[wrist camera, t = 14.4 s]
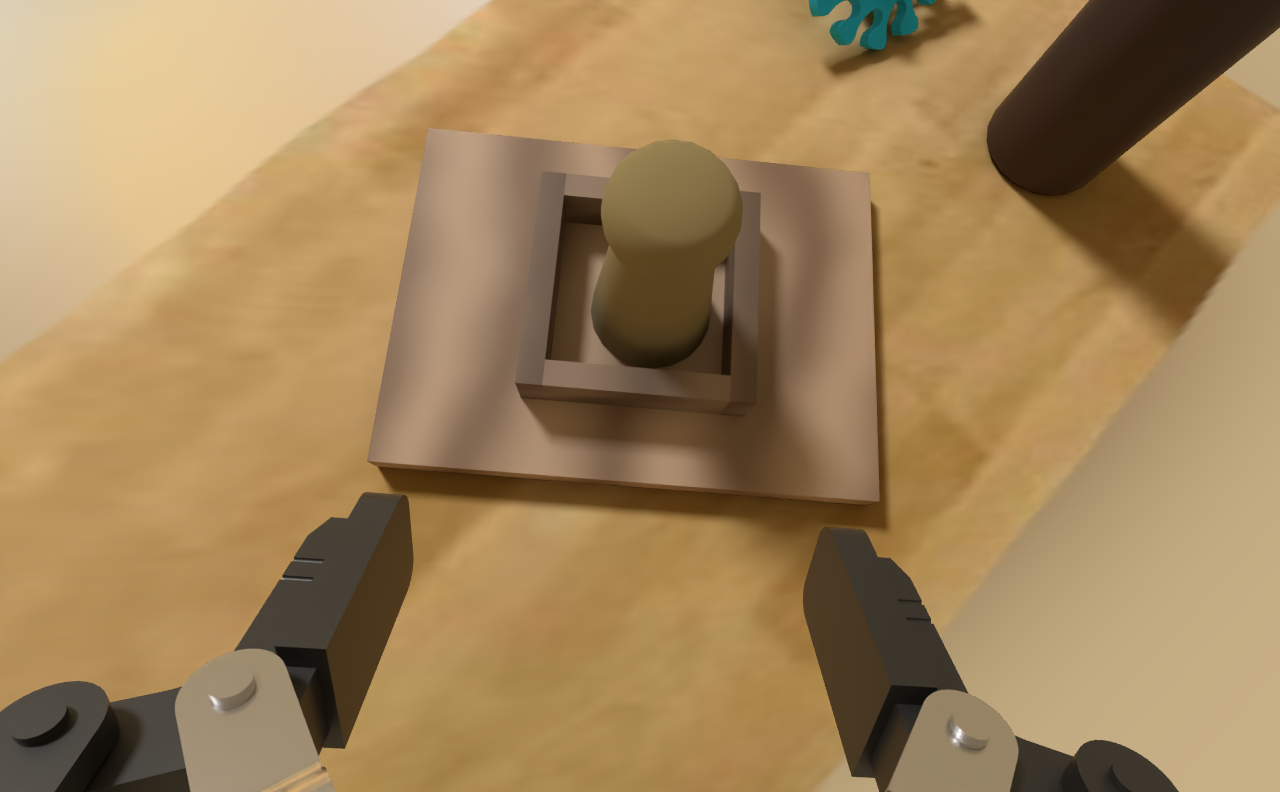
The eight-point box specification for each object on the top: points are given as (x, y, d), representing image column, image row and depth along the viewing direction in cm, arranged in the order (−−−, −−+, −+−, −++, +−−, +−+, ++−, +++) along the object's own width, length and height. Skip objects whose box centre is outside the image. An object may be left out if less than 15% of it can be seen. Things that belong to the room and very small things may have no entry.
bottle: (1010, 208, 38) (1433, -171, 19) (965, 111, 40) (1312, -328, 21) (1112, 186, 39) (1615, -197, 20) (1065, 91, 41) (1485, -346, 22)
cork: (566, 298, 33) (553, 166, 23) (661, 236, 34) (691, 83, 24) (639, 392, 32) (662, 299, 22) (734, 324, 33) (799, 204, 23)
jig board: (377, 466, 32) (347, 450, 28) (435, 145, 37) (416, 94, 33) (867, 505, 33) (903, 494, 29) (859, 188, 38) (889, 144, 34)
